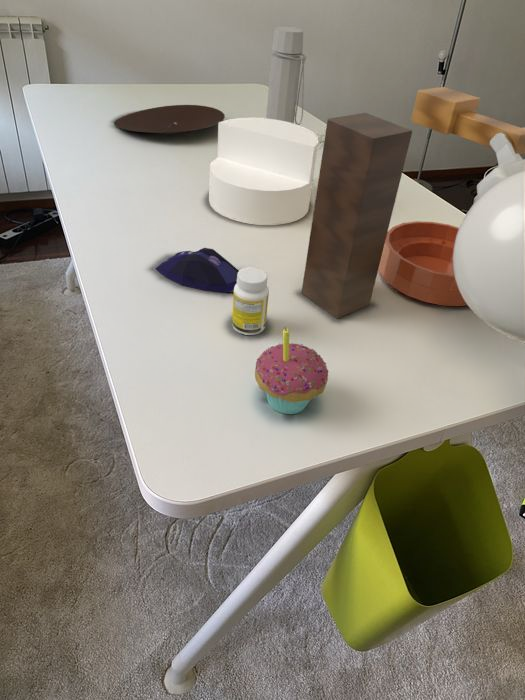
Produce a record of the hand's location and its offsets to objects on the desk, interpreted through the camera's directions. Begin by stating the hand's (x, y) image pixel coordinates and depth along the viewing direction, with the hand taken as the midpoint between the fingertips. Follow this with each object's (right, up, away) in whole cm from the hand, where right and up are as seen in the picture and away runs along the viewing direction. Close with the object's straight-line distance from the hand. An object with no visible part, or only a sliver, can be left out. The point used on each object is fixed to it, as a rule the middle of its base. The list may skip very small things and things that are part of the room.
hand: (506, 133), depth 68 cm
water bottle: (-25, +26, +72) cm, 81 cm away
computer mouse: (-39, -15, +19) cm, 46 cm away
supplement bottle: (-32, -23, +10) cm, 41 cm away
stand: (-19, -19, +17) cm, 31 cm away
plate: (-54, +31, +74) cm, 97 cm away
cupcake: (-27, -33, -1) cm, 43 cm away
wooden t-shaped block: (-4, +2, +4) cm, 6 cm away
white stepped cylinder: (-31, +3, +42) cm, 52 cm away
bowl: (-2, -15, +24) cm, 28 cm away
